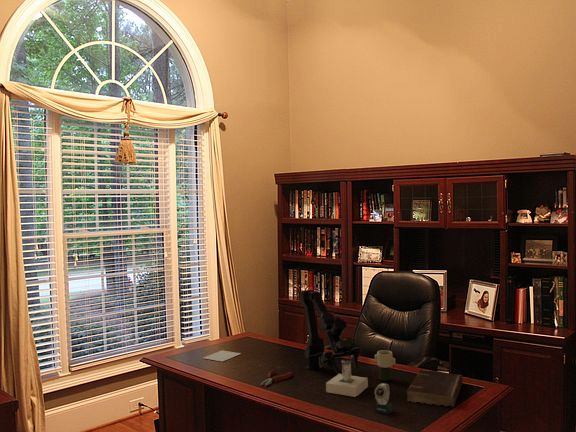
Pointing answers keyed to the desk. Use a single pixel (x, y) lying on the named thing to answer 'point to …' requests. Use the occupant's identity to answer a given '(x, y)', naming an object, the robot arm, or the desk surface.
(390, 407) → the watch
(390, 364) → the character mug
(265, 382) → the pliers
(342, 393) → the block
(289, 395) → the desk surface
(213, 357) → the paper stack
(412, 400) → the hardback book
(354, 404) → the desk surface
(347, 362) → the steel pin
